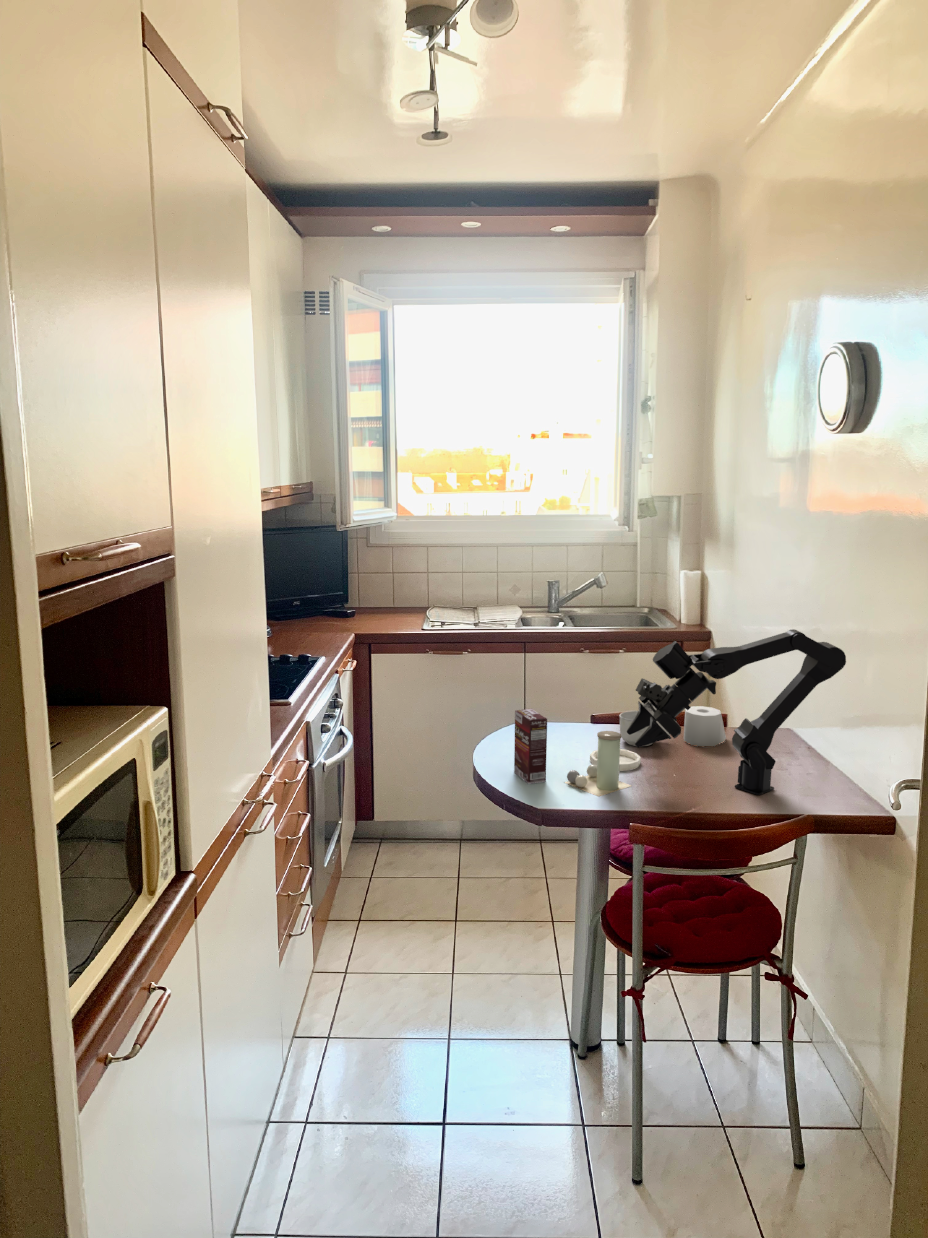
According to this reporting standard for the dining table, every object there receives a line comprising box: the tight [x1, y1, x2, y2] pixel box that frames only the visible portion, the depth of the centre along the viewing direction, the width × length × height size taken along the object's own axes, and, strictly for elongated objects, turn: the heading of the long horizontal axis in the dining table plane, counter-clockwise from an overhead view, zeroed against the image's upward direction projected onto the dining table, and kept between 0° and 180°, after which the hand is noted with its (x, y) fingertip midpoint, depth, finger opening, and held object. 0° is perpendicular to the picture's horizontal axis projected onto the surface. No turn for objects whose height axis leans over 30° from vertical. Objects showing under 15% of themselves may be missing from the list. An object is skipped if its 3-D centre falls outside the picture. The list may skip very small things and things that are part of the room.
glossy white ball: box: [586, 764, 597, 777], centre depth 208 cm, size 3×3×3 cm
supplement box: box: [513, 708, 548, 785], centre depth 206 cm, size 9×5×16 cm, turn 21°
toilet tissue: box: [683, 705, 727, 747], centre depth 237 cm, size 9×13×9 cm
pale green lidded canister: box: [596, 730, 622, 791], centre depth 201 cm, size 5×5×12 cm
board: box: [563, 774, 632, 798], centre depth 203 cm, size 11×11×1 cm
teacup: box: [618, 710, 654, 747], centre depth 235 cm, size 14×11×8 cm
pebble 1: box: [566, 769, 581, 783], centre depth 204 cm, size 3×3×3 cm
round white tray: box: [589, 748, 642, 772], centre depth 218 cm, size 12×12×2 cm
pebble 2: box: [575, 774, 587, 788], centre depth 201 cm, size 3×3×3 cm
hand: (631, 739), depth 200 cm, fingers open, 9 cm apart
